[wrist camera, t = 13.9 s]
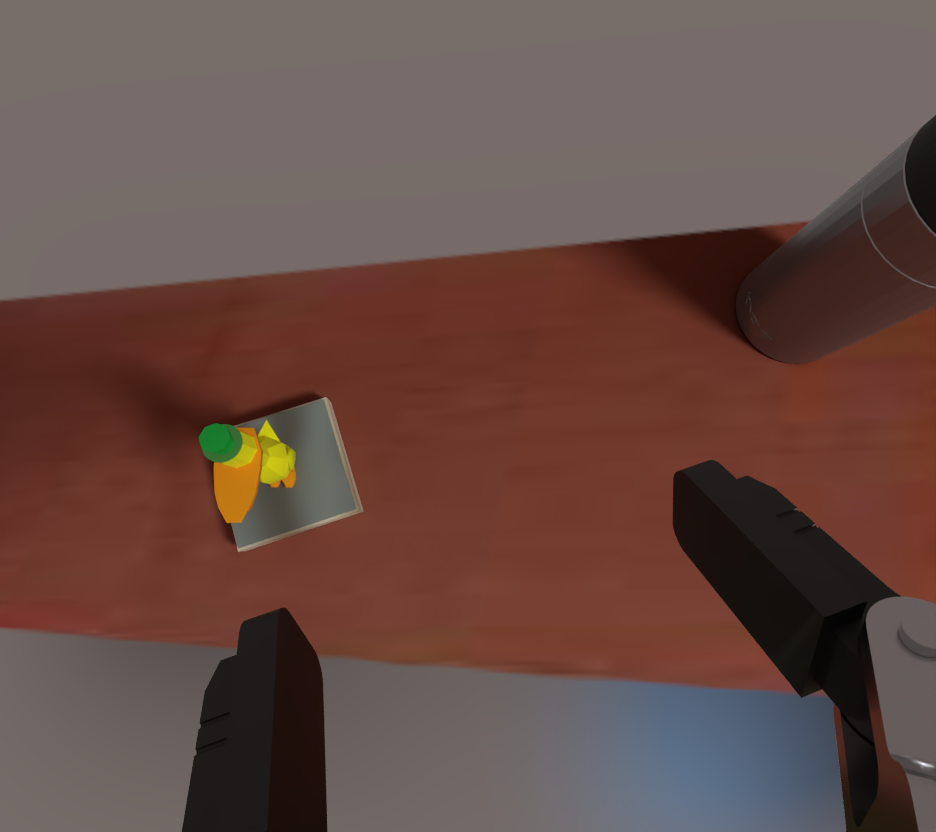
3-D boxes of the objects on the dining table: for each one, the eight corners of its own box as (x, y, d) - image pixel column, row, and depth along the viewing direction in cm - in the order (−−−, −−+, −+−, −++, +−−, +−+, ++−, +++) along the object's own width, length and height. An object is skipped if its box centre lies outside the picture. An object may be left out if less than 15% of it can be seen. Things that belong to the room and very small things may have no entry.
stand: (331, 402, 42) (325, 396, 41) (363, 511, 41) (358, 510, 39) (218, 437, 42) (206, 433, 40) (246, 550, 40) (236, 551, 38)
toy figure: (304, 523, 39) (241, 522, 27) (254, 523, 38) (168, 522, 27) (309, 430, 40) (250, 391, 28) (260, 431, 40) (181, 391, 28)
